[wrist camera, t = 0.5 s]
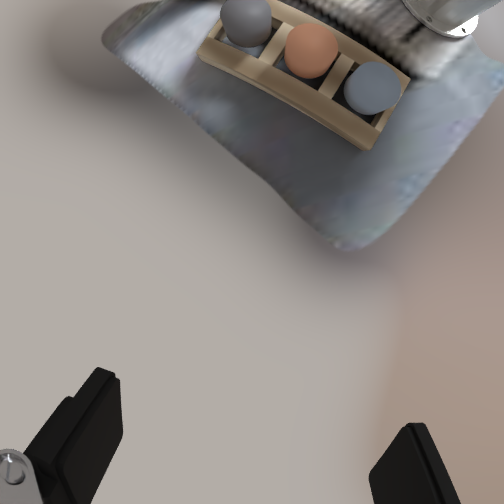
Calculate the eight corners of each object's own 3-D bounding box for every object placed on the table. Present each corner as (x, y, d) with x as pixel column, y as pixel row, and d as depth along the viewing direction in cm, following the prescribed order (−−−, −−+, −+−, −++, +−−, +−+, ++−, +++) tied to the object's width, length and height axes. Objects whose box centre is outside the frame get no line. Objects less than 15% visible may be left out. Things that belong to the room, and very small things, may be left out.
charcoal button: (240, 4, 27) (236, -13, 23) (279, 21, 27) (280, 5, 23) (217, 36, 28) (210, 22, 24) (256, 54, 28) (255, 41, 24)
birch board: (245, -2, 29) (244, -13, 26) (400, 84, 31) (410, 79, 28) (201, 60, 32) (195, 52, 29) (362, 150, 33) (370, 149, 31)
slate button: (356, 63, 28) (367, 52, 24) (394, 89, 28) (408, 81, 24) (335, 98, 29) (344, 89, 25) (374, 123, 30) (387, 119, 26)
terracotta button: (298, 30, 27) (301, 15, 23) (338, 52, 28) (346, 39, 24) (275, 63, 28) (276, 51, 25) (316, 86, 29) (323, 76, 25)
